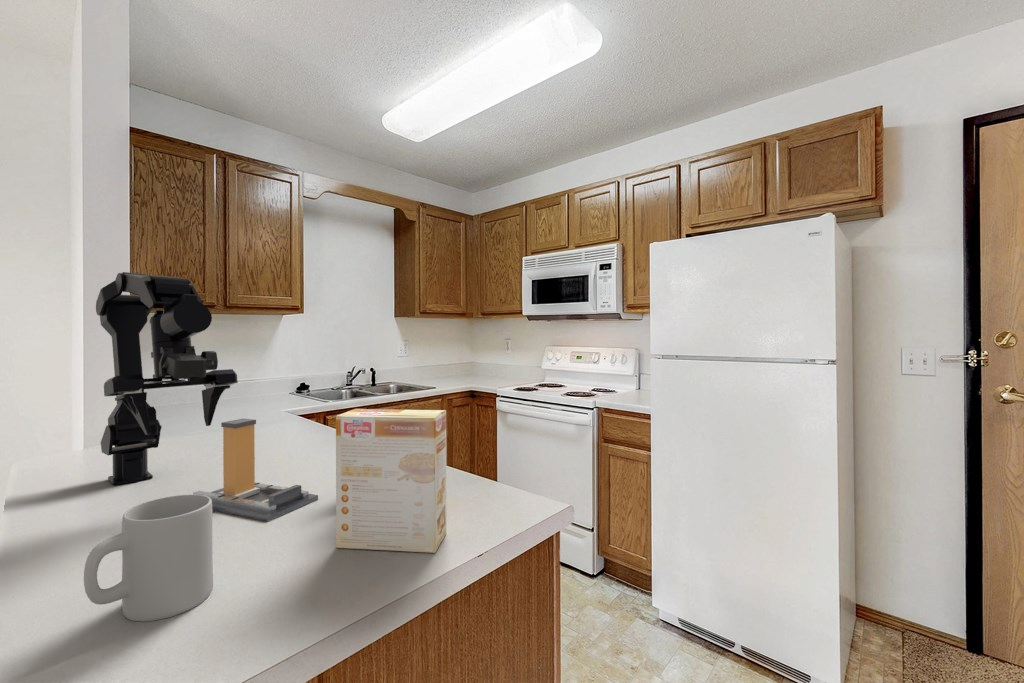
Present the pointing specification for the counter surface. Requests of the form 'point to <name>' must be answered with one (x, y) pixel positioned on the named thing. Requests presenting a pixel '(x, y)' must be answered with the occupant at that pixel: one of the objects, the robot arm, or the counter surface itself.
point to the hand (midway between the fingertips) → (179, 430)
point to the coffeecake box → (391, 479)
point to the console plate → (261, 501)
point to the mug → (158, 558)
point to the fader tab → (239, 458)
